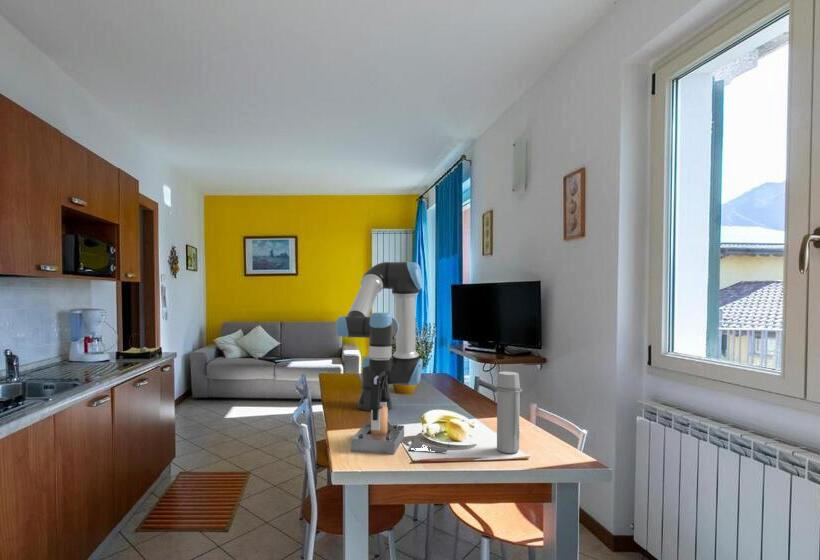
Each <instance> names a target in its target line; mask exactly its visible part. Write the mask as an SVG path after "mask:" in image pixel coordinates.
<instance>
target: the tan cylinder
mask: <svg viewBox="0 0 820 560" xmlns="http://www.w3.org/2000/svg"><path fill="white" fill-rule="evenodd" d="M379 408H380V430H371V435H385V436H387V426H388V425H389V424H388V418H389V417H388V416H389V415H388V414H389V413H388V411H389V410H388V407H385V406H383V404H380V407H379ZM371 415H372V410H371V411H370V416H371Z"/></svg>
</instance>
